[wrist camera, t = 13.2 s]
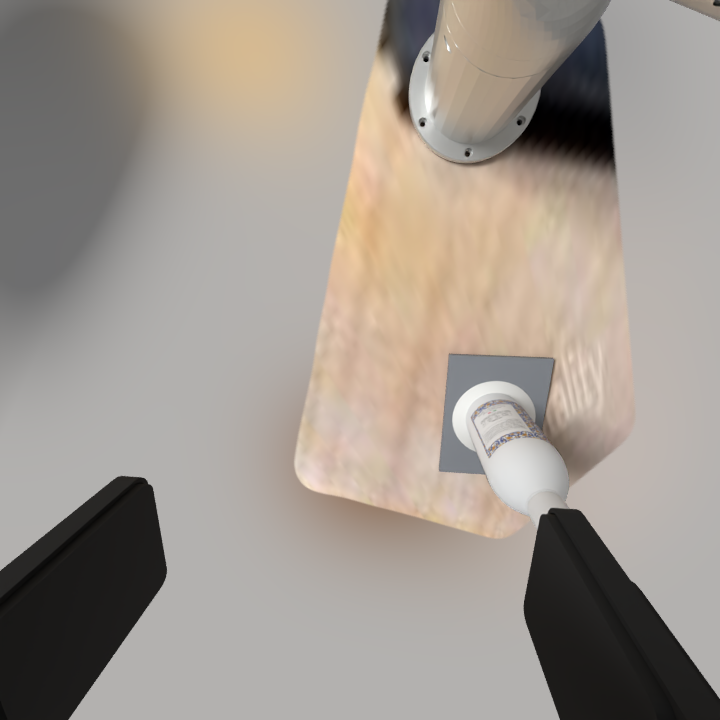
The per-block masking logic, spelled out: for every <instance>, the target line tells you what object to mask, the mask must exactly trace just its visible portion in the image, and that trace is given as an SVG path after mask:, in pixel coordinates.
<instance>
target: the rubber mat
mask: <svg viewBox="0 0 720 720" xmlns="http://www.w3.org/2000/svg"><path fill="white" fill-rule="evenodd" d="M553 363H554V359H553V358H545V357H520V356H494V355H468V354H449V361H448V372H447V383H446V395H445V406H444V417H443V429H442V440H441V452H440V463H439V471H441V472H456V473H471V474H485V472H484V470H483V467H482V465H481V462H480V460H479V457H478V455H477V452H476V450H475V447H474V445H473V442H472V440H471V437H470V434H469V432H468V429H467V426H466V414H467V411H468V409H469V407H470V405H471V404H472V403H473V402H474V401H475V400H476V399H478V398H479V397H481V396H483V395H486V394H490V393H501V394H506V395H508V396H511V397H512V398H514V399H515V400H516V401H517V402H518V403H519V404H520V405H521V406H522V408H523V409H524V410H525V411H526V412H527V413H528V415H529V416H530V417H531V418H532V420H533V421H534V422H535V423H536V425H537V426H538V427H539V428H540V429H541V431H542V426H543V420H544V415H545V409H546V403H547V397H548V392H549V386H550V380H551V374H552V369H553Z"/></svg>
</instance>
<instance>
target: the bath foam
mask: <svg viewBox="0 0 720 720" xmlns="http://www.w3.org/2000/svg"><path fill="white" fill-rule="evenodd" d="M466 426H467V429H468V432H469V434H470V437H471V440H472V442H473V445H474V447H475V450H476V452H477V455H478V457H479V460H480V462H481V465H482V467H483V470H484V472H485V475H486V477H487V480H488V482H489V484H490V486H491V488H492V489H493V491H494V492H495V494H496V495H497V496H498V497H499V498H500V500H501V501H502V502H504V503H505V504H506V505H507V506H508V507H510V508H512V509H513V510H515V511H517V512H519V513H521V514H524V515H527V516H530V518H531V520H532V522H533V524H534V526H535V528H536V529H537V530H538V525H539V519H540V516H541V515H542V514H547V513H548V511H549V509H550V508H563V509H569V507H568V506H567V504H566V503H565V501H566V498H567V494H568V490H569V476H568V471H567V468H566V465H565V463H564V460H563V459H562V457H561V455H560V453H559V452H558V450H557V449H556V448H555V447H554V445H553V444H552V443H551V442H550V441H549V439H548V438H547V437H546V436H545V434H544V433H543V432H542V431H541V429H540V428H539V427H538V426H537V425H536V423H535V422H534V421H533V420H532V418H531V417H530V416H529V415H528V413H527V412H526V411H525V410H524V409H523V408H522V406H521V405H520V404H519V403H518V402H517V401H516V400H515V399H514V398H512V397H511V396H508V395H506V394H501V393H490V394H486V395H483V396H481V397H479V398H478V399H476V400H475V401H474V402H473V403H472V404H471V405H470V407H469V409H468V411H467V414H466Z"/></svg>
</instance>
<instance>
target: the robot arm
mask: <svg viewBox="0 0 720 720" xmlns="http://www.w3.org/2000/svg"><path fill="white" fill-rule="evenodd" d="M610 1H611V0H440V5H439V11H438V16H437V22H436V28H435V32H434V33H433V34H432V35H431V36H430V37H429V39H428V40H427V42H426V43H425V45H424V46H423V47H422V49H421V51H420V53H419V55H418V57H417V59H416V61H415V64H414V67H413V71H412V74H411V79H410V86H409V108H410V115H411V118H412V122H413V125H414V128H415V130H416V132H417V133H418V135H419V137H420V139H421V140H422V141H423V142H424V144H425V145H426V146H427V147H428V148H429V149H430V150H431V151H433V152H434V153H435V154H436V155H438V156H440V157H442V158H444V159H446V160H449V161H453V162H457V163H474V162H481V161H484V160H486V159H489V158H492V157H494V156H495V155H497V154H499V153H500V152H502V151H504V150H505V149H506V148H507V147H509V146H510V145H511V144H512V143H513V142H514V141H515V140H516V139H517V138H518V137H519V136H520V135H521V134H522V132H523V131H524V130H525V128H526V127H527V126H528V124H529V122H530V120H531V118H532V116H533V114H534V112H535V110H536V107H537V104H538V101H539V97H540V92H541V87H542V86H543V85H544V84H545V83H546V82H547V81H548V79H549V78H550V77H551V76H552V75H553V74H554V73H555V71H556V70H557V69H558V68H559V67H560V66H561V65H562V63H563V62H564V61H565V60H566V59H567V58H568V57H569V56H570V54H571V53H572V52H573V51H574V50H575V49H576V48H577V46H578V45H579V44H580V43H581V42H582V40H583V39H584V38H585V37H586V36H587V35H588V33H589V32H590V31H591V30H592V29H593V27H594V26H595V25H596V23H597V22H598V21H599V19H600V18H601V16H602V15H603V13H604V12H605V10H606V8H607V7H608V5H609V3H610ZM670 1H673V2H675V3H677V4H680V5H682V6H685V7H687V8H689V9H692V10H694V11H697V12H699V13H701V14H704V15H706V16H709V17H711V18H714V19H716V20H718V21H720V0H670ZM424 59H428V62H424V61H423V60H424ZM517 121H520V123H521V125H520V126H519V125H518V124H517ZM422 122H423V123H424V124H425V126H424V127H421V126H420V124H421V123H422ZM466 152H468V153H469V157H466V156H465V153H466ZM166 574H167V567H166V561H165V555H164V550H163V544H162V538H161V532H160V527H159V520H158V515H157V509H156V503H155V498H154V491H153V488H152V486H151V485H149V484H148V482H147V480H146V479H145V478H141V477H126V476H120V477H117V478H116V479H114V480H113V481H111V482H110V483H109V484H108V485H106V486H105V487H104V488H103V489H101V490H100V491H99V492H98V493H96V494H95V495H94V496H93V497H91V498H90V499H89V500H88V501H86V502H85V503H84V504H83V505H82V506H80V507H79V508H78V509H77V510H75V511H74V512H73V513H72V514H70V515H69V516H68V517H67V518H65V519H64V520H63V521H62V522H60V523H59V524H58V525H57V526H56V527H54V528H53V529H52V530H50V531H49V532H48V533H47V534H45V535H44V536H43V537H42V538H40V539H39V540H38V541H37V542H36V543H34V544H33V545H32V546H31V547H29V548H28V549H27V550H26V551H24V552H23V553H22V554H21V555H20V556H18V557H17V558H16V559H14V560H13V561H12V562H11V563H10V564H8V565H7V566H6V567H4V568H3V569H2V570H1V571H0V720H68V719H69V718H70V717H71V715H72V714H73V712H74V711H75V709H76V708H77V706H78V705H79V704H80V702H81V701H82V699H83V698H84V697H85V695H86V694H87V692H88V691H89V689H90V688H91V686H92V685H93V684H94V682H95V681H96V679H97V678H98V677H99V675H100V674H101V672H102V671H103V670H104V668H105V667H106V665H107V664H108V662H109V661H110V660H111V658H112V657H113V655H114V654H115V652H116V651H117V650H118V648H119V647H120V645H121V644H122V642H123V641H124V639H125V638H126V637H127V635H128V634H129V632H130V631H131V630H132V628H133V627H134V625H135V624H136V622H137V621H138V620H139V618H140V617H141V615H142V614H143V612H144V611H145V609H146V608H147V607H148V605H149V604H150V602H151V601H152V599H153V598H154V597H155V595H156V594H157V592H158V591H159V590H160V588H161V587H162V585H163V583H164V581H165V578H166ZM524 616H525V620H526V624H527V627H528V629H529V633H530V635H531V638H532V641H533V644H534V647H535V650H536V653H537V655H538V658H539V661H540V664H541V667H542V670H543V672H544V675H545V678H546V681H547V684H548V687H549V690H550V692H551V695H552V698H553V701H554V704H555V707H556V710H557V712H558V715H559V718H560V720H720V699H719V697H718V696H717V694H716V693H715V692H714V690H713V689H712V688H711V686H710V685H709V684H708V682H707V681H706V679H705V678H704V677H703V675H702V674H701V672H699V670H698V668H697V667H696V665H695V664H694V663H693V661H692V660H691V659H690V657H689V656H688V655H687V653H686V652H685V650H684V649H683V648H682V646H681V645H680V643H679V642H678V641H677V639H676V638H675V636H674V635H673V634H672V632H671V631H670V630H669V628H668V627H667V625H666V624H665V623H664V621H663V620H662V619H661V617H660V616H659V614H658V613H657V612H656V610H655V609H654V607H653V606H652V605H651V603H650V602H649V601H648V599H647V598H646V596H645V595H644V594H643V592H642V591H641V590H640V589H639V588H638V586H637V585H636V584H635V583H633V582H632V581H631V580H630V579H629V578H628V576H627V575H626V573H625V572H624V571H623V569H622V568H621V566H620V565H619V564H618V562H617V561H616V560H615V558H614V557H613V555H612V554H611V553H610V551H609V550H608V548H607V547H606V545H605V544H604V543H603V541H602V540H601V539H600V537H599V536H598V534H597V533H596V531H595V530H594V529H593V527H592V526H591V525H590V523H589V522H588V520H587V519H586V517H585V516H584V515H583V514H582V512H581V511H579V510H577V509H563V508H550V509H549V511H548V513H547V514H542V515H541V516H540V519H539V525H538V530H537V535H536V541H535V547H534V551H533V557H532V563H531V568H530V573H529V579H528V584H527V589H526V594H525V600H524Z"/></svg>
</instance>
